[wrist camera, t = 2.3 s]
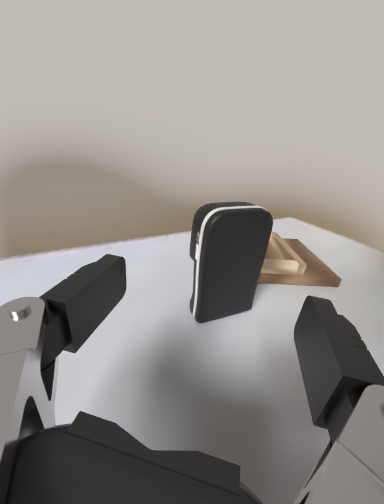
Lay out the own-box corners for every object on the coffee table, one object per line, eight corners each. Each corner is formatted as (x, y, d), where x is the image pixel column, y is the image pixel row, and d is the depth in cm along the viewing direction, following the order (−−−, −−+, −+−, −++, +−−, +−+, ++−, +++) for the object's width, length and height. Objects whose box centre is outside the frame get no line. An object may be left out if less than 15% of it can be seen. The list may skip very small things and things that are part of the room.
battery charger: (234, 290, 27) (253, 197, 22) (253, 310, 24) (280, 208, 19) (181, 302, 25) (188, 199, 20) (195, 326, 22) (208, 212, 16)
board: (295, 245, 42) (300, 231, 40) (338, 286, 30) (346, 268, 29) (210, 240, 41) (211, 225, 39) (219, 280, 29) (222, 262, 28)
